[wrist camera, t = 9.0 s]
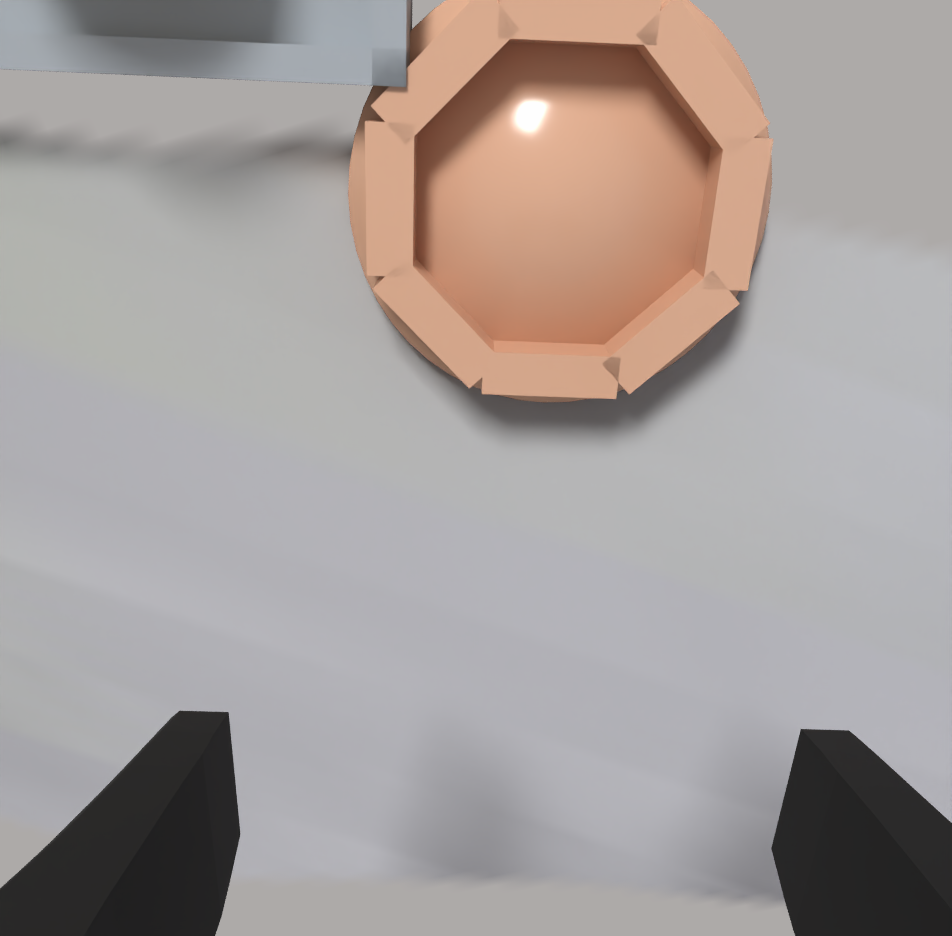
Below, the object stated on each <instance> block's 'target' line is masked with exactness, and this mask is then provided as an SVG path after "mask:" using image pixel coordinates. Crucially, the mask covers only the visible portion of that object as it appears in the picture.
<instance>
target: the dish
mask: <svg viewBox="0 0 952 936" xmlns="http://www.w3.org/2000/svg"><path fill="white" fill-rule="evenodd" d="M769 124H770V122H769V121H768V120H767V118H766V117H765V116H764V112H763V109H762V105H761V102H760V98H759V96H758V94H757V91H756V89H755V86H754V84H753V82H752V79H751V77H750V75H749V72H748V70H747V68H746V67H745V65H744V63H743V62H742V60H741V59H740V57H739V55H738V54H737V52H736V50H735V49H734V47H733V46H732V44H731V43H730V42H729V40H728V39H727V38H726V37H725V36H724V34H723V33H722V32H721V31H720V30H719V28H718V27H717V26H716V25H715V24H714V22H713V21H712V20H711V19H710V18H708V17H707V16H706V15H705V14H704V13H703V12H702V11H701V10H699V9H698V8H697V7H696V6H695V5H694V4H693V3H691V1H689V0H446V1H445V2H443V3H442V4H440V5H439V6H437V7H436V8H434V9H433V10H432V11H431V12H430V13H429V14H428V15H427V16H426V17H425V18H424V19H423V20H422V21H420V22H419V23H418V24H417V25H416V26H415V27H414V28H413V29H412V30H411V31H410V65H409V66H408V67H407V68H406V87H395V86H373V87H372V89H371V92H370V94H369V96H368V98H367V101H366V103H365V105H364V107H363V110H362V114H361V117H360V120H359V124H358V127H357V130H356V133H355V137H354V142H353V148H352V154H351V160H350V167H349V190H348V197H349V210H350V222H351V227H352V232H353V237H354V242H355V246H356V251H357V254H358V257H359V260H360V262H361V265H362V268H363V271H364V274H365V277H366V279H367V281H368V283H369V285H370V287H371V289H372V291H373V293H374V295H375V297H376V299H377V301H378V303H379V304H380V306H381V307H382V309H383V310H384V312H385V313H386V315H387V316H388V318H389V319H390V321H391V322H392V323H393V325H394V326H395V327H396V328H397V329H398V330H399V332H400V333H401V334H402V335H403V336H404V337H405V339H406V340H407V341H408V342H409V343H410V344H411V345H412V346H413V347H414V348H416V349H417V350H418V351H419V352H420V353H421V354H422V355H423V356H424V357H426V358H427V359H428V360H429V361H431V362H432V363H434V364H435V365H436V366H438V367H439V368H441V369H442V370H444V371H445V372H447V373H448V374H450V375H452V376H453V377H455V378H457V379H459V380H461V381H462V382H463V383H464V384H465V385H466V386H467V387H468V388H470V387H472V386H473V387H476V388H479V389H481V390H482V394H494V395H500V396H504V397H509V398H513V399H517V400H525V401H535V402H571V401H578V400H585V399H591V398H602V399H616V396H617V392H618V391H621V390H623V389H625V390H626V391H627V393H628V394H631V393H632V392H633V391H634V390H635V389H637V388H638V387H639V386H640V385H642V384H643V383H644V382H645V381H646V380H648V379H649V378H650V377H651V376H653V375H655V374H657V373H659V372H660V371H662V370H664V369H666V368H667V367H668V366H670V365H671V364H673V363H674V362H675V361H677V360H678V359H679V358H681V357H682V356H684V355H685V354H686V353H688V352H689V351H690V350H691V349H692V348H693V347H694V346H695V345H696V344H697V343H698V342H699V341H701V340H702V339H703V338H704V337H705V336H706V335H707V334H708V333H709V331H710V330H711V329H712V328H713V327H714V326H715V324H716V323H717V322H718V321H719V320H721V319H722V318H723V317H724V316H726V315H727V314H728V313H729V312H730V311H732V310H733V309H734V308H735V307H737V306H738V305H739V304H740V303H739V302H738V301H737V299H736V298H735V297H736V296H737V294H738V293H739V291H740V290H741V291H748V286H749V280H750V274H751V268H752V266H753V263H754V260H755V258H756V255H757V252H758V250H759V247H760V244H761V241H762V238H763V234H764V229H765V225H766V221H767V217H768V213H769V204H770V195H771V186H772V167H771V166H772V165H771V150H772V145H773V139H771V138H769V135H768V128H767V126H768V125H769Z"/></svg>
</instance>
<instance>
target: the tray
mask: <svg viewBox="0 0 952 936" xmlns="http://www.w3.org/2000/svg"><path fill="white" fill-rule="evenodd" d="M411 30H412V0H0V69H13V70H33V71H56V72H78V73H101V74H102V73H103V74H123V75H124V74H125V75H147V76H169V77H170V76H171V77H192V78H215V79H237V80H259V81H261V80H262V81H282V82H305V83H328V84H352V85H373V86H395V87H406V68H407V67H408V66H409V65H410V31H411Z"/></svg>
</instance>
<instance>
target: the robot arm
mask: <svg viewBox="0 0 952 936" xmlns="http://www.w3.org/2000/svg"><path fill="white" fill-rule="evenodd" d="M239 838H240V826H239V816H238V805H237V795H236V785H235V775H234V764H233V754H232V744H231V733H230V723H229V713H228V712H203V711H179V712H178V713H176V714H175V715H174V716H173V717H172V718H171V719H170V720H169V721H168V722H167V723H166V724H165V725H164V726H163V727H162V728H161V729H160V730H159V731H158V732H157V734H156V735H155V736H154V737H153V738H152V739H151V740H150V741H149V742H148V743H147V744H146V745H145V746H144V747H143V748H142V750H141V751H140V752H139V753H138V754H137V755H136V756H135V757H134V758H133V759H132V760H131V761H130V762H129V763H128V764H127V765H126V766H125V767H124V769H123V770H122V771H121V772H120V773H119V774H118V775H117V776H116V777H115V778H114V779H113V780H112V781H111V782H110V783H109V784H108V785H107V786H106V787H105V788H104V789H103V790H102V791H101V792H100V793H99V794H98V795H97V796H96V797H95V798H94V799H93V800H92V801H91V802H90V803H89V804H88V805H87V806H86V807H85V808H84V809H83V810H82V811H81V812H80V813H79V814H78V815H77V816H76V817H75V818H74V819H73V820H72V821H71V822H70V823H69V824H68V825H67V826H66V827H65V828H64V829H63V830H62V831H61V832H60V833H59V834H58V835H57V836H56V837H55V838H54V839H53V840H52V841H51V842H50V843H49V844H48V845H47V846H46V847H45V848H44V849H43V850H42V851H41V852H40V853H39V854H38V855H37V856H35V857H34V858H33V859H32V860H31V861H30V862H29V863H28V864H27V865H26V866H24V868H22V869H21V870H20V871H19V872H18V873H17V874H16V875H15V876H14V877H12V878H11V879H10V880H9V881H8V882H7V883H6V884H5V885H4V886H3V887H2V888H0V936H215V934H216V931H217V928H218V925H219V922H220V919H221V916H222V911H223V907H224V903H225V899H226V895H227V891H228V887H229V883H230V878H231V874H232V869H233V865H234V860H235V856H236V851H237V847H238V842H239ZM772 852H773V856H774V860H775V864H776V868H777V872H778V876H779V880H780V884H781V887H782V891H783V895H784V899H785V902H786V906H787V909H788V913H789V916H790V920H791V923H792V927H793V930H794V933H795V936H952V823H951V822H950V821H949V820H948V819H947V818H945V817H944V816H943V815H942V814H941V813H940V812H939V811H938V810H937V809H935V808H934V807H933V806H932V805H931V804H930V803H929V802H928V801H927V800H926V799H925V798H923V797H922V796H921V795H920V794H919V793H918V792H917V791H916V790H915V789H914V788H912V787H911V786H910V785H909V784H908V783H907V782H906V781H905V780H904V779H903V778H902V777H900V776H899V775H898V774H897V773H896V772H895V771H894V770H893V769H892V768H891V767H890V766H888V765H887V764H886V763H885V762H884V761H883V760H882V759H881V758H880V757H879V756H877V755H876V754H875V753H874V752H873V751H872V750H871V749H870V748H868V747H867V746H866V745H865V744H864V743H863V742H862V741H861V740H859V739H858V738H857V737H856V736H855V735H854V734H852V733H851V732H850V731H845V730H811V729H801V731H800V735H799V739H798V743H797V747H796V751H795V755H794V759H793V764H792V768H791V772H790V776H789V780H788V784H787V788H786V792H785V796H784V800H783V804H782V808H781V812H780V816H779V820H778V824H777V828H776V832H775V836H774V840H773V844H772Z"/></svg>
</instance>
